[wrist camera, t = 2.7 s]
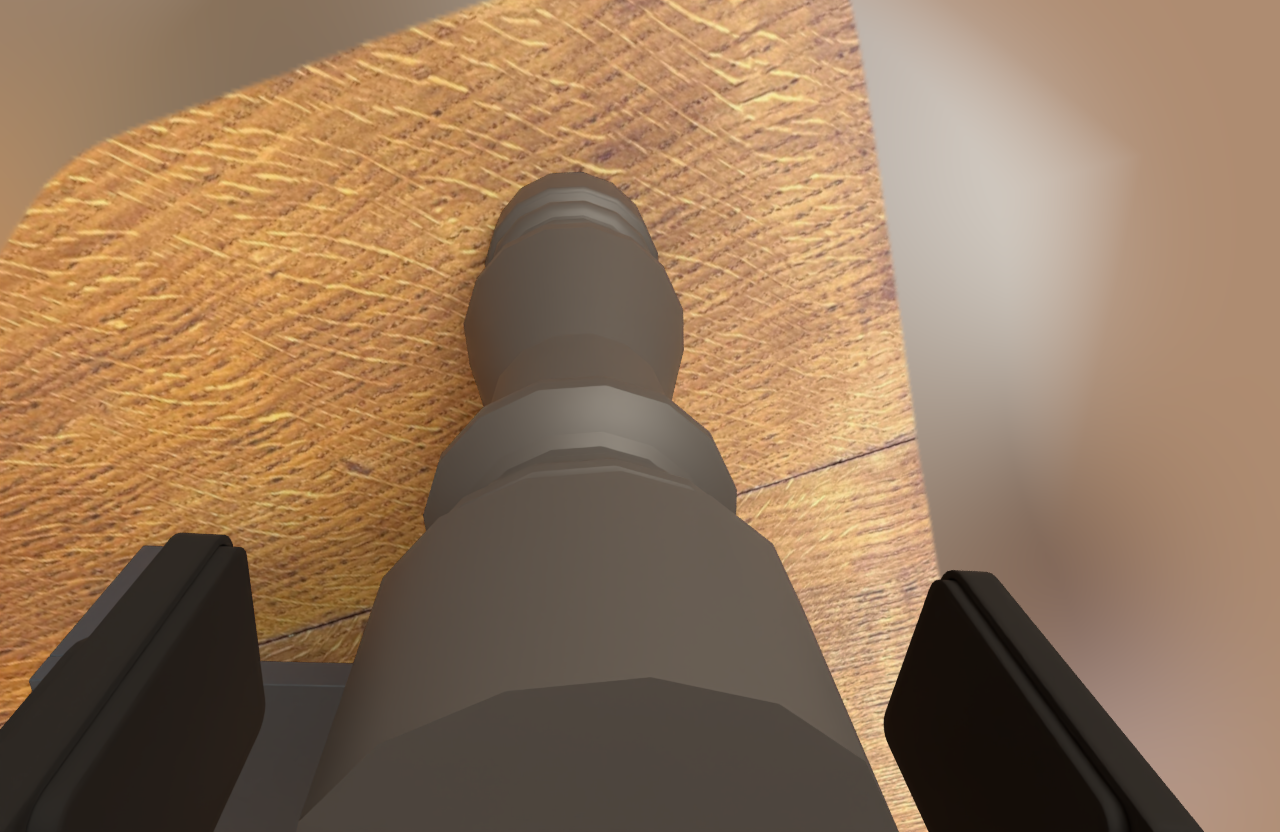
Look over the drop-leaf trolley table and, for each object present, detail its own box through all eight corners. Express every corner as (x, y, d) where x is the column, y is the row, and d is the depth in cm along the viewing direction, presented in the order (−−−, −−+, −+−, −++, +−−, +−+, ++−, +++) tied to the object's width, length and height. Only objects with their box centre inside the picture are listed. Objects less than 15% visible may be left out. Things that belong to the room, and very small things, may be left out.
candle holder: (498, 159, 27) (215, 626, 5) (662, 184, 28) (1029, 671, 6) (486, 318, 30) (264, 1087, 8) (637, 336, 31) (827, 1070, 9)
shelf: (175, 707, 38) (84, 861, 30) (143, 545, 33) (27, 680, 26) (571, 713, 40) (573, 856, 33) (588, 563, 36) (594, 691, 29)
